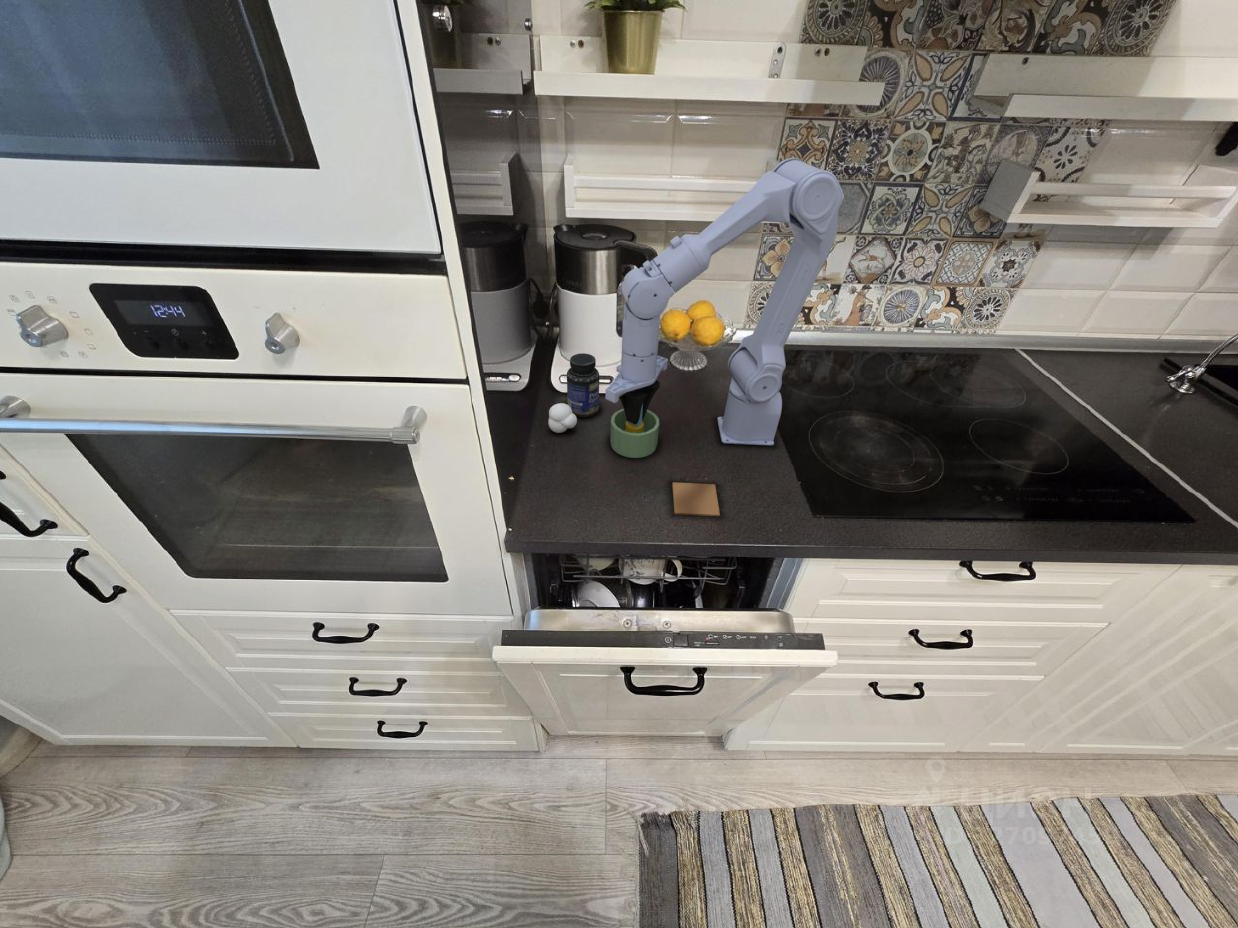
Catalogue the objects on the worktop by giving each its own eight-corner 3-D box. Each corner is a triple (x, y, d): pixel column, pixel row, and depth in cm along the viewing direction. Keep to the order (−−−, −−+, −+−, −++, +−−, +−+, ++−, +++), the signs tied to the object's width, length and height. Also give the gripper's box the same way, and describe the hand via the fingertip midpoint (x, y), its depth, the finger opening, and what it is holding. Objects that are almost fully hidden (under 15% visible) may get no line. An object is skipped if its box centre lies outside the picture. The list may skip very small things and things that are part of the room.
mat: (714, 486, 84) (715, 484, 84) (719, 516, 79) (719, 514, 79) (672, 484, 84) (672, 482, 84) (674, 514, 79) (674, 512, 79)
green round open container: (656, 430, 96) (658, 408, 92) (657, 459, 89) (659, 436, 86) (611, 428, 96) (612, 406, 93) (609, 456, 89) (610, 433, 86)
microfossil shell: (553, 421, 97) (551, 396, 93) (580, 425, 96) (580, 400, 93) (546, 435, 93) (544, 410, 90) (574, 439, 93) (574, 414, 89)
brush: (632, 427, 94) (634, 395, 89) (646, 434, 92) (649, 401, 88) (621, 435, 92) (622, 402, 87) (635, 442, 90) (637, 409, 86)
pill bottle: (594, 420, 98) (594, 369, 90) (563, 416, 98) (561, 365, 91) (602, 403, 102) (602, 353, 95) (572, 399, 103) (571, 349, 96)
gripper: (646, 326, 87) (641, 394, 96) (590, 357, 78) (590, 429, 87) (680, 339, 84) (672, 408, 93) (627, 372, 75) (623, 445, 84)
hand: (635, 419), depth 90 cm, fingers closed on brush
